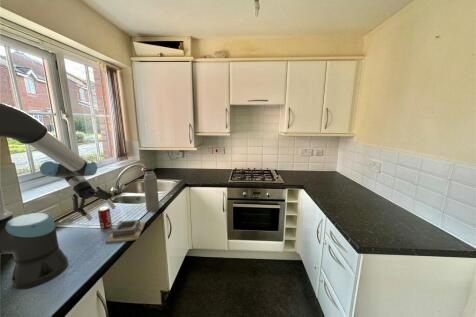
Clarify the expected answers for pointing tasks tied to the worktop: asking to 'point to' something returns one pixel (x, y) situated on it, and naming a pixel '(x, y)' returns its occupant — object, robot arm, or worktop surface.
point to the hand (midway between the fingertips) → (103, 213)
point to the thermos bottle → (151, 190)
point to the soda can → (104, 218)
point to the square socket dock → (126, 231)
